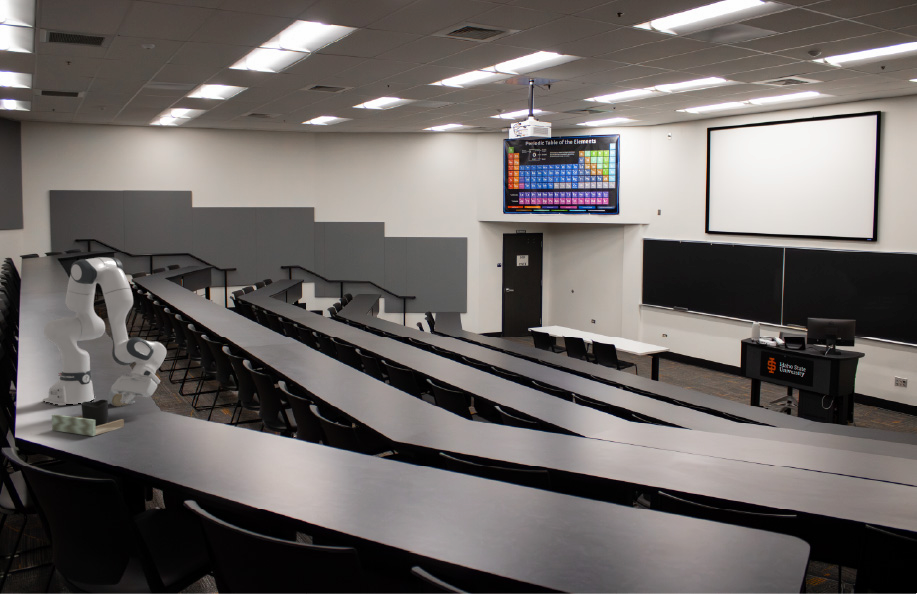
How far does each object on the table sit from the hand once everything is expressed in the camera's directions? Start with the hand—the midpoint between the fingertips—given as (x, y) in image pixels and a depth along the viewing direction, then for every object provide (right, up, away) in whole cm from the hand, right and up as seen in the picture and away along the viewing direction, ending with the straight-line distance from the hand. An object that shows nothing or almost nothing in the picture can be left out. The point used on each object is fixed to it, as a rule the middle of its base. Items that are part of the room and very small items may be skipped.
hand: (123, 402), depth 290 cm
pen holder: (-4, -8, -14) cm, 16 cm away
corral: (-6, -8, -16) cm, 19 cm away
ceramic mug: (-12, -5, +24) cm, 27 cm away
